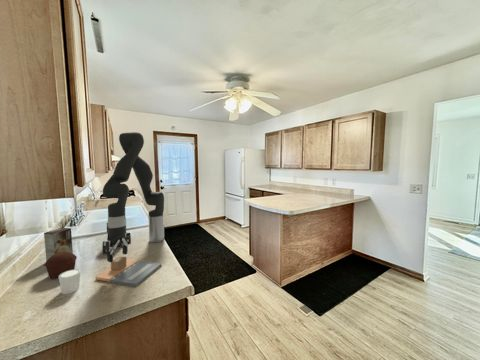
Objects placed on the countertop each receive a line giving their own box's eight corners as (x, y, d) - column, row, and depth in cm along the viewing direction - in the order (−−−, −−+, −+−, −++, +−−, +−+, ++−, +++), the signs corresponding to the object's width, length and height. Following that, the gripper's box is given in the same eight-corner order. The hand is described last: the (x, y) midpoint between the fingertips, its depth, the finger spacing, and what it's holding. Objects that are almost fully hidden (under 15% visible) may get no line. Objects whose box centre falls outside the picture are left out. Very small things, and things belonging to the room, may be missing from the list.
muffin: (40, 277, 90) (38, 255, 90) (68, 265, 101) (67, 246, 100) (53, 283, 86) (52, 261, 85) (82, 271, 96) (81, 251, 95)
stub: (126, 260, 106) (126, 250, 106) (139, 262, 105) (138, 252, 104) (95, 279, 89) (95, 267, 88) (109, 281, 87) (109, 269, 87)
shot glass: (64, 286, 84) (63, 270, 83) (83, 283, 86) (83, 267, 86) (55, 296, 77) (54, 279, 77) (77, 292, 80) (76, 276, 79)
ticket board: (139, 262, 104) (139, 260, 104) (161, 265, 102) (161, 263, 101) (110, 282, 87) (110, 279, 87) (135, 286, 84) (135, 283, 84)
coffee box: (64, 254, 113) (62, 227, 111) (73, 255, 111) (71, 228, 110) (45, 262, 104) (43, 232, 102) (55, 263, 102) (53, 233, 101)
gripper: (122, 220, 103) (123, 251, 104) (96, 228, 89) (98, 263, 90) (134, 221, 101) (135, 252, 102) (110, 230, 87) (111, 265, 88)
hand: (117, 257), depth 96 cm, fingers open, 8 cm apart
